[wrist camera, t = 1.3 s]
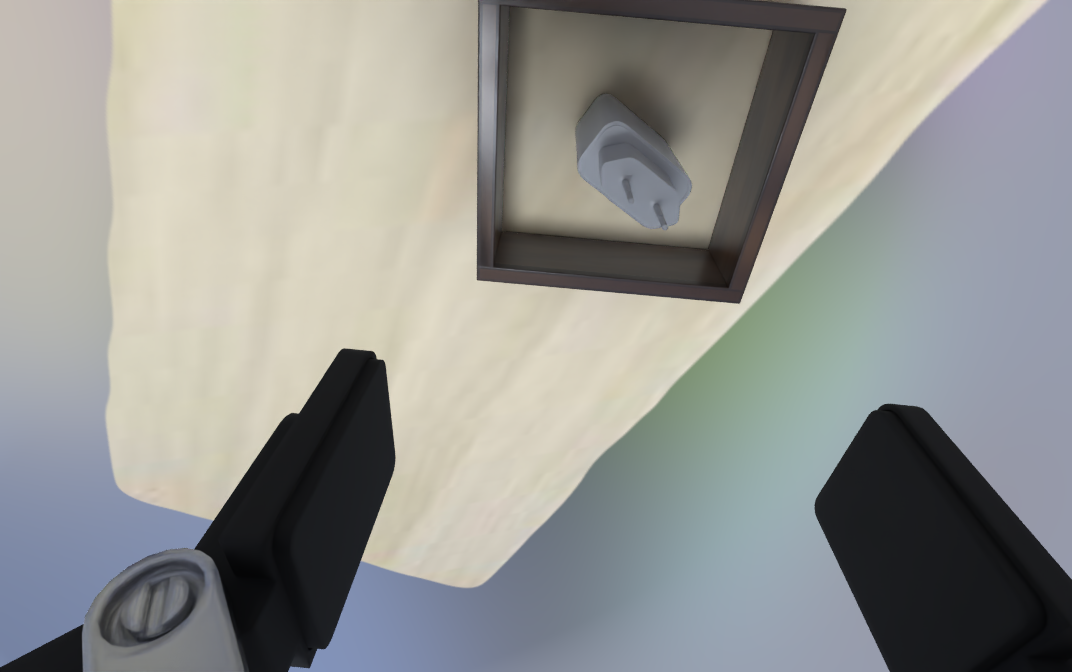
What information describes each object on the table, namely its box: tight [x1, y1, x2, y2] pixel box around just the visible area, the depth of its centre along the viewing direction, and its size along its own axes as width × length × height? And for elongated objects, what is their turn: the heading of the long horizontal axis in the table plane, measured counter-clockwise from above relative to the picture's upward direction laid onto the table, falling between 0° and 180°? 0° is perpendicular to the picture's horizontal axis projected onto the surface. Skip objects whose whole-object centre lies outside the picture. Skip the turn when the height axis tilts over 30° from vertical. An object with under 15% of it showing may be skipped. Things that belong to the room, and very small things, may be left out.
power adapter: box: [575, 94, 692, 230], centre depth 25 cm, size 3×5×12 cm, turn 54°
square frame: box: [477, 0, 846, 304], centre depth 28 cm, size 15×16×6 cm
